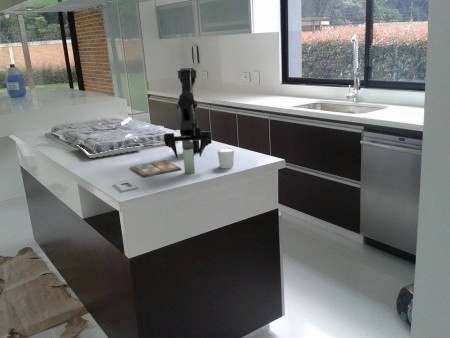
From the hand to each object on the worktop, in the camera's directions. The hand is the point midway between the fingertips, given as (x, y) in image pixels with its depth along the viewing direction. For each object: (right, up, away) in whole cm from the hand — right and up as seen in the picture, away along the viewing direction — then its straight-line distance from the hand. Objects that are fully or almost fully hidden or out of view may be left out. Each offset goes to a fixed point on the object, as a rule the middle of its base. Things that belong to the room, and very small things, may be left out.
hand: (188, 156), depth 168 cm
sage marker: (0, -6, +3) cm, 7 cm away
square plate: (-43, +4, +47) cm, 64 cm away
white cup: (+15, -4, +9) cm, 18 cm away
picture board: (-15, -5, +10) cm, 19 cm away
